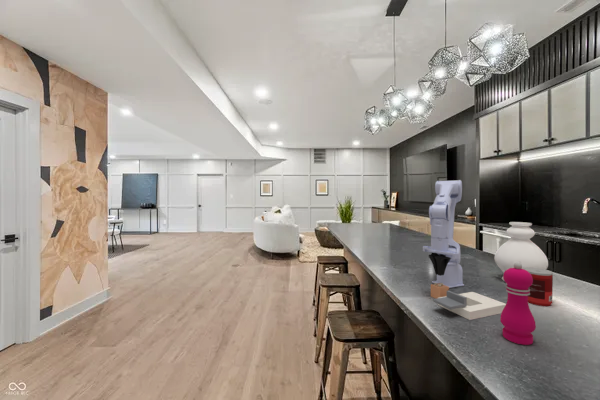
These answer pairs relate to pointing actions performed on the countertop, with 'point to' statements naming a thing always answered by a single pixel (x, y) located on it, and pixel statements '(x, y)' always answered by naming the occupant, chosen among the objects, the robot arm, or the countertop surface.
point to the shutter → (452, 301)
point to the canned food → (540, 287)
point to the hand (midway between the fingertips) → (439, 274)
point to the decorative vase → (520, 249)
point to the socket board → (478, 306)
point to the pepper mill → (518, 306)
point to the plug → (439, 290)
